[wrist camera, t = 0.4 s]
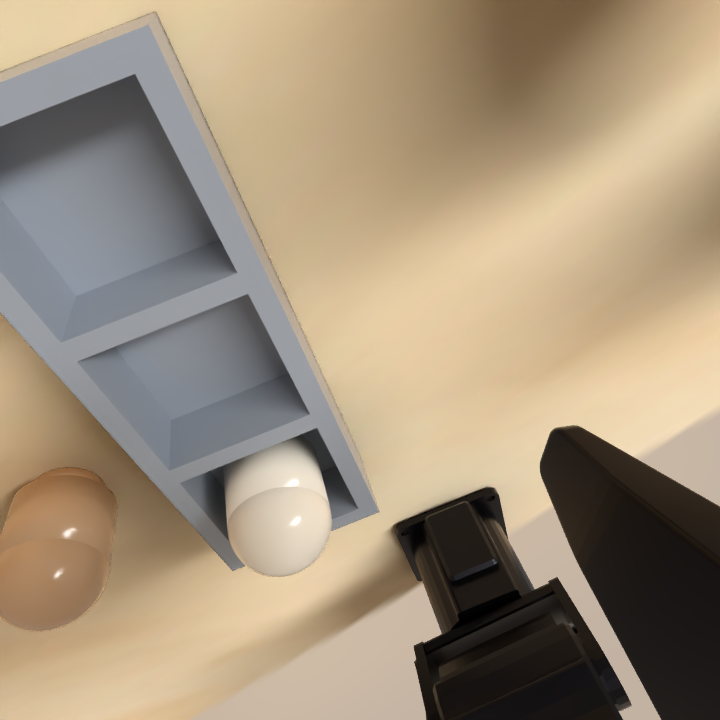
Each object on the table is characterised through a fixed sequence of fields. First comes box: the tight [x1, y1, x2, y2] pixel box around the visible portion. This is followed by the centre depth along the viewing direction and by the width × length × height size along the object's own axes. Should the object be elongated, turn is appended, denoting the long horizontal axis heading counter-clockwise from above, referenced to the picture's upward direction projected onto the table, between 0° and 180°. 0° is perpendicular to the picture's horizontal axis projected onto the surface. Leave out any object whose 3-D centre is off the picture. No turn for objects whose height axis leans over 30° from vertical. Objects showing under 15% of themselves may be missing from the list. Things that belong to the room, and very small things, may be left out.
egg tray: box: [0, 11, 379, 571], centre depth 20 cm, size 21×7×4 cm, turn 17°
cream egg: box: [223, 435, 332, 577], centre depth 23 cm, size 4×4×6 cm
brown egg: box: [0, 467, 118, 632], centre depth 22 cm, size 4×4×6 cm
